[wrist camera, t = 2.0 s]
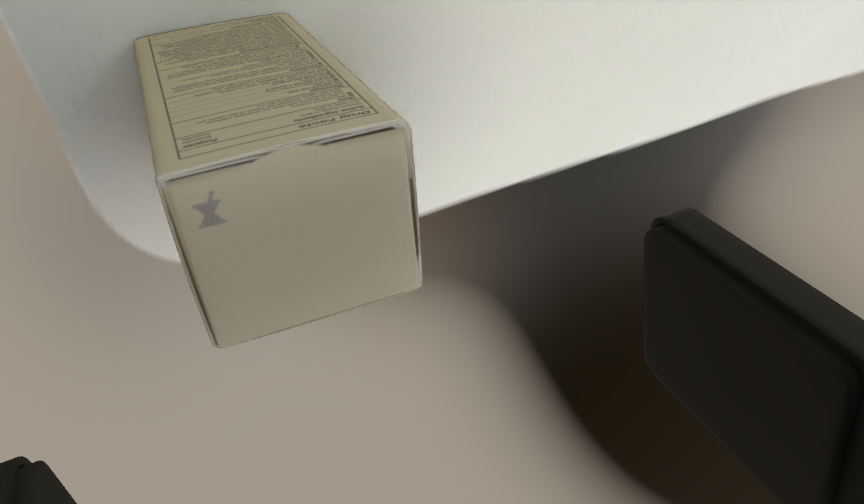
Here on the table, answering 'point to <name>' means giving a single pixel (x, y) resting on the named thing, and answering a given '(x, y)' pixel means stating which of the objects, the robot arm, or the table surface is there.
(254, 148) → the box
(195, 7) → the table surface
